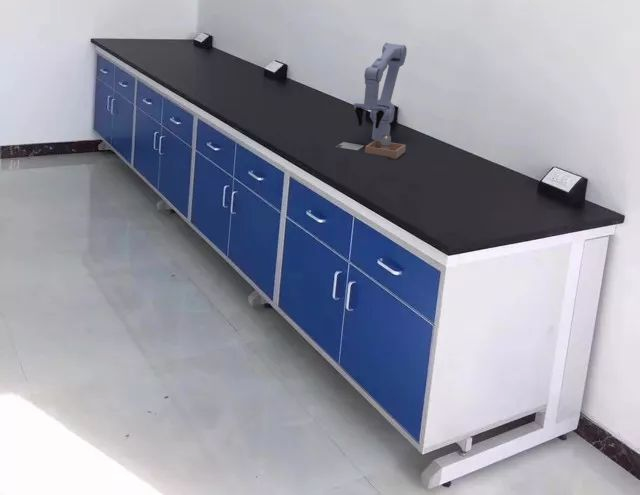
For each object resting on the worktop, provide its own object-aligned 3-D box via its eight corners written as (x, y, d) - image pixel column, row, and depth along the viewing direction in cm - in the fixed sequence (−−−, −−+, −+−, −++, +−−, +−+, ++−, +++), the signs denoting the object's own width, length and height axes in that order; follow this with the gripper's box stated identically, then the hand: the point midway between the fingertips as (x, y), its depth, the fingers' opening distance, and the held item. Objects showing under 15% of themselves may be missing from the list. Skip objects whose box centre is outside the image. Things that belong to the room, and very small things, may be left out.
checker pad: (343, 143, 352) (343, 141, 351) (364, 147, 348) (364, 145, 348) (335, 148, 343) (335, 146, 342) (357, 152, 340) (357, 149, 339)
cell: (381, 150, 343) (383, 133, 340) (390, 151, 341) (392, 134, 339) (379, 152, 339) (380, 135, 337) (387, 153, 338) (389, 136, 335)
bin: (374, 147, 349) (375, 140, 348) (405, 152, 345) (405, 144, 343) (364, 154, 337) (365, 146, 335) (396, 159, 332) (396, 151, 331)
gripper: (352, 94, 339) (349, 125, 344) (384, 99, 334) (381, 130, 339) (357, 92, 345) (355, 123, 350) (389, 96, 340) (386, 127, 345)
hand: (368, 126), depth 345 cm, fingers open, 7 cm apart
